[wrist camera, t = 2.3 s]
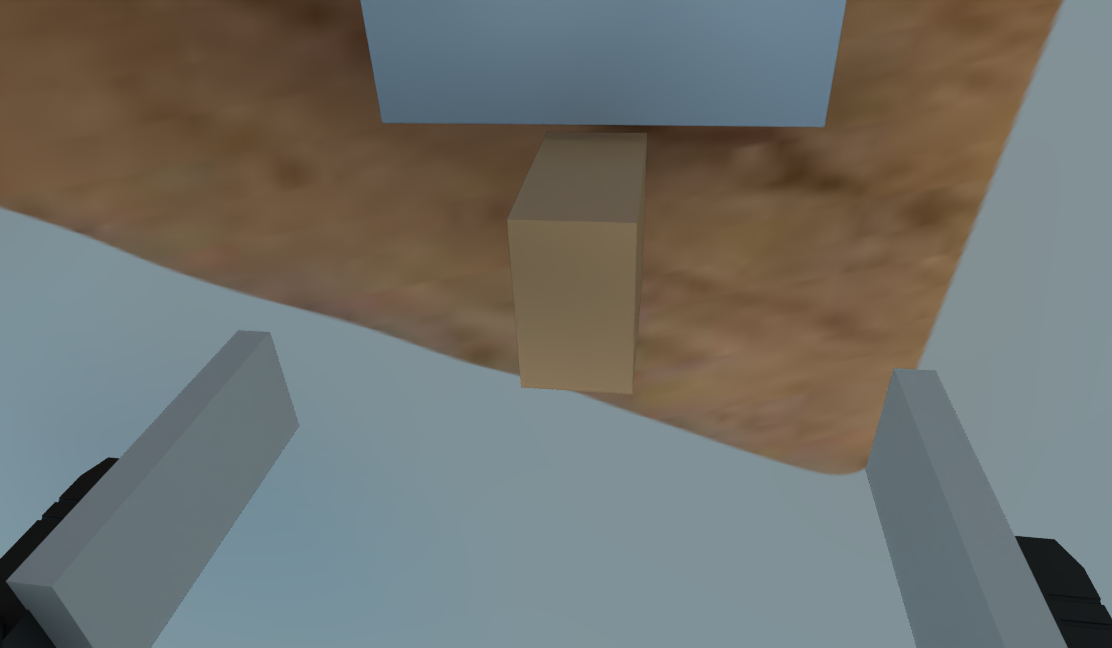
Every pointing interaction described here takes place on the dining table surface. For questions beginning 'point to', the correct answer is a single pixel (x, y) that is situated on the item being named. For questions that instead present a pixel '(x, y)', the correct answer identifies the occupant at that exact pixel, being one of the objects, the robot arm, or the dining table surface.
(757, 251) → the dining table surface
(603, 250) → the lid
